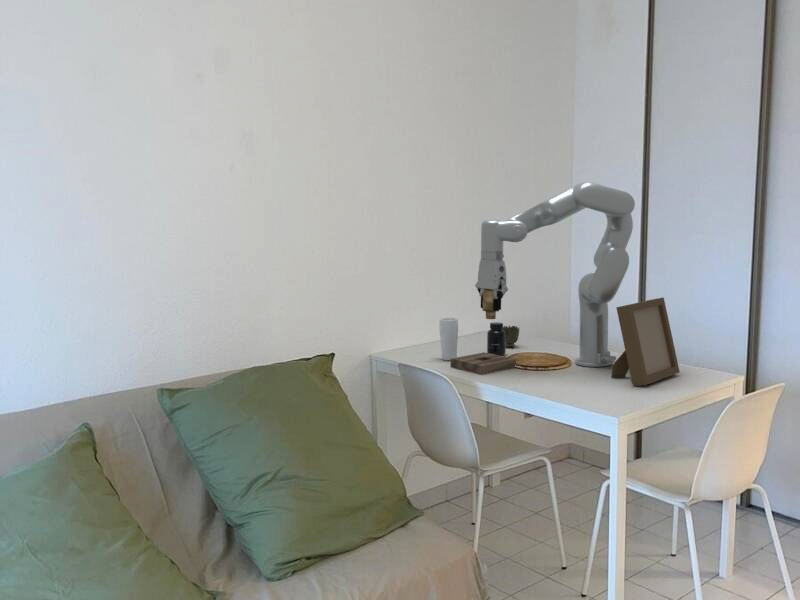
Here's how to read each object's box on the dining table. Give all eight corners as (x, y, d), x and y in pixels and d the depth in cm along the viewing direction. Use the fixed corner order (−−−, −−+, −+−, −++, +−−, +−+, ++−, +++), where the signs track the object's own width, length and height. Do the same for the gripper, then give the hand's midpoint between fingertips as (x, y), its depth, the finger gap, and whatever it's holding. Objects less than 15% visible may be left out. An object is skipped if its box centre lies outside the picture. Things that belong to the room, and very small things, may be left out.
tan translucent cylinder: (502, 318, 262) (503, 290, 261) (490, 320, 258) (490, 291, 257) (491, 316, 266) (491, 288, 265) (478, 318, 263) (479, 289, 262)
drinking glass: (437, 358, 280) (436, 318, 278) (453, 356, 283) (452, 316, 281) (445, 362, 274) (444, 321, 272) (461, 360, 277) (461, 319, 275)
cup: (497, 346, 301) (497, 326, 299) (514, 344, 303) (514, 324, 302) (505, 349, 293) (505, 329, 292) (522, 348, 296) (522, 327, 295)
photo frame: (679, 375, 245) (680, 298, 242) (645, 388, 230) (645, 306, 227) (637, 369, 255) (637, 295, 252) (602, 381, 241) (602, 303, 238)
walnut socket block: (515, 367, 262) (515, 358, 262) (481, 374, 253) (481, 365, 253) (484, 360, 275) (484, 352, 275) (450, 367, 266) (450, 358, 265)
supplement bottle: (492, 357, 280) (492, 325, 278) (484, 354, 286) (483, 322, 285) (509, 355, 282) (508, 323, 281) (500, 352, 289) (499, 321, 287)
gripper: (517, 257, 255) (516, 311, 257) (482, 254, 269) (481, 305, 271) (501, 258, 251) (500, 312, 253) (466, 255, 264) (466, 306, 267)
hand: (490, 308), depth 262 cm, fingers closed on tan translucent cylinder, 5 cm apart
